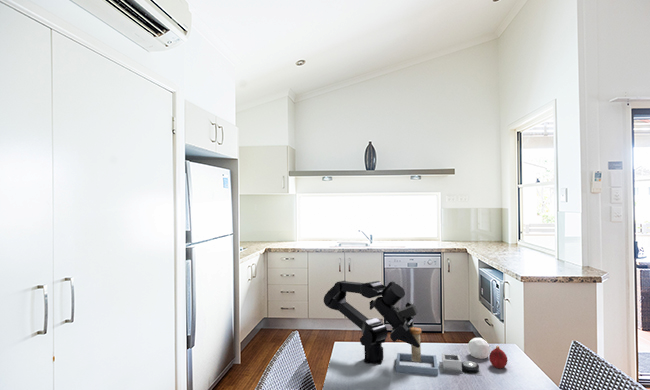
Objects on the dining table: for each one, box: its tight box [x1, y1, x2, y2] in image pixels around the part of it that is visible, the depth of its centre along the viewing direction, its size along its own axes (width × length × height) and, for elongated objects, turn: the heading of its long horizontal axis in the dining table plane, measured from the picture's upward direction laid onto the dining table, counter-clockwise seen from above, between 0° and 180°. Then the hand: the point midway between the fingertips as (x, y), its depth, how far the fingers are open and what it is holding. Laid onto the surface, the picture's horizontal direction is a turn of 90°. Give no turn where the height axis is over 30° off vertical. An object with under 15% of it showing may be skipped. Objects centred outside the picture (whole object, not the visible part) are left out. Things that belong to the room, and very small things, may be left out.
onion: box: [488, 345, 508, 369], centre depth 129 cm, size 6×6×8 cm
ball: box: [467, 337, 491, 360], centre depth 139 cm, size 8×8×8 cm
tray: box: [395, 352, 439, 376], centre depth 130 cm, size 14×12×3 cm
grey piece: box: [438, 353, 482, 376], centre depth 128 cm, size 13×9×4 cm
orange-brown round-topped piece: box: [410, 326, 422, 363], centre depth 131 cm, size 4×4×11 cm
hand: (419, 345), depth 130 cm, fingers closed on orange-brown round-topped piece, 3 cm apart
